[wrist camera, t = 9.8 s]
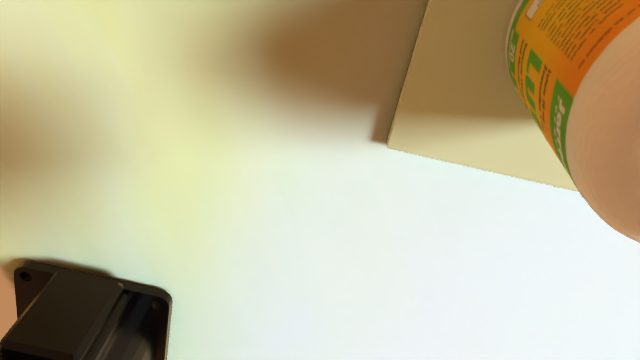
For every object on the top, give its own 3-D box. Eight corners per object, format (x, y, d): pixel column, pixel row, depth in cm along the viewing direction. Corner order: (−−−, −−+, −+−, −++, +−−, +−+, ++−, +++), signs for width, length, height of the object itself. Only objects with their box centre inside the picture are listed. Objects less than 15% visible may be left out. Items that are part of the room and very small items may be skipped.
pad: (666, 204, 19) (674, 213, 19) (386, 140, 19) (387, 148, 19) (861, -114, 15) (879, -113, 14) (489, -204, 14) (493, -207, 14)
